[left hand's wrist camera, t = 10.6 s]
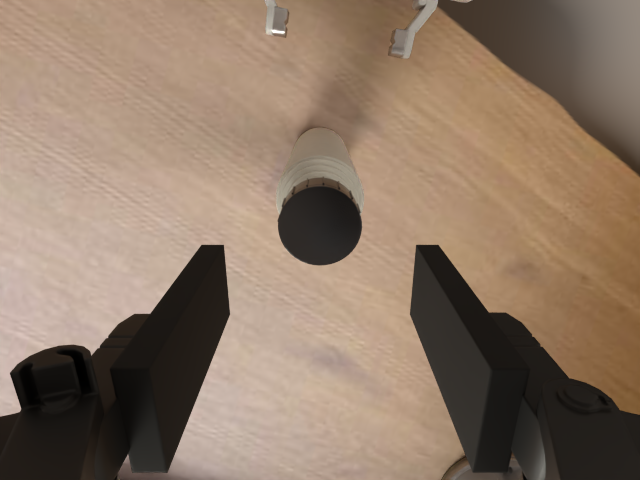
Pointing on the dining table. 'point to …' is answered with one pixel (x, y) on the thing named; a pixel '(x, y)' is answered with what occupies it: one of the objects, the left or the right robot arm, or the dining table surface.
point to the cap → (320, 221)
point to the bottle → (319, 164)
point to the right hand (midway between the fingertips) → (337, 46)
